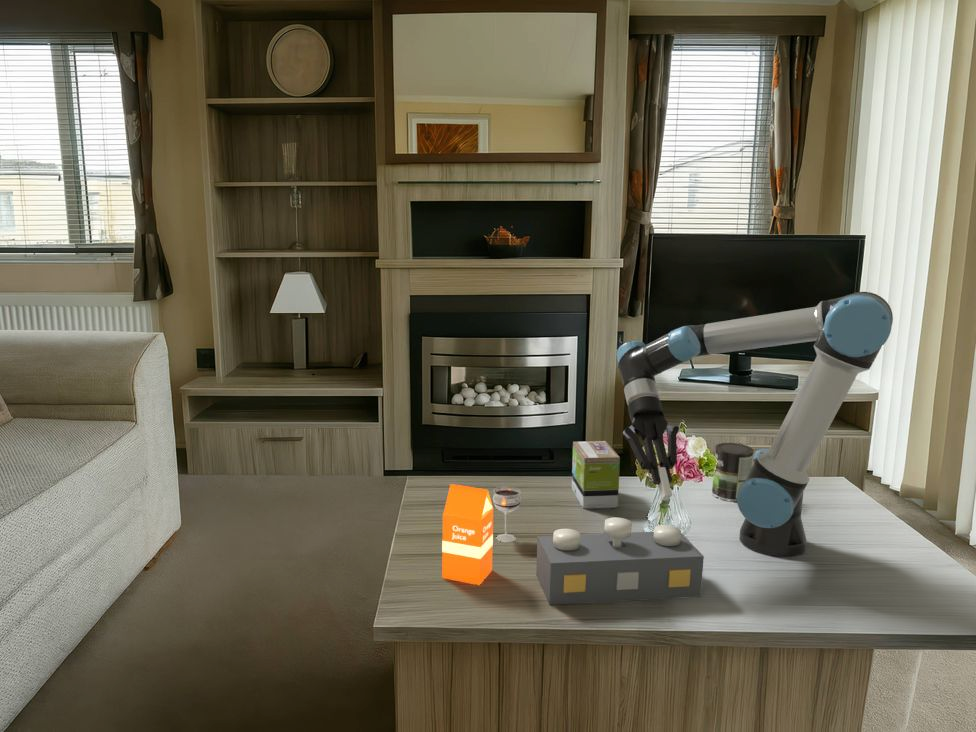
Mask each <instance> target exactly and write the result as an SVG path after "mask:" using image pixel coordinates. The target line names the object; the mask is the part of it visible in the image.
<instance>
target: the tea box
mask: <svg viewBox="0 0 976 732" xmlns="http://www.w3.org/2000/svg"><path fill="white" fill-rule="evenodd" d="M571 460H572V462H571V463H572V466H571V467H572V468H571V490H572V492H573V493H574V495H575V497H576V498H577V500H578V502H579V504H580V506H581V507H582V508H583V510H584V509H585V510H586V509H587V510H589V509H613V508H618V505H619V487H620V486H619V485H620V484H619V483H620V466H621V463H620V462H621V457H620V456H619V455H618V453H617V452H616V451H615V450H614V449H613V448H612V446H611V445H610V444H609V443H608V442H607V440H591V441H590V440H589V441H588V440H587V441H573V442H572V459H571Z"/></svg>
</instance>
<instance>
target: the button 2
mask: <svg viewBox="0 0 976 732" xmlns="http://www.w3.org/2000/svg"><path fill="white" fill-rule="evenodd" d="M653 532H654V541H655V542H656V543H658V544H660V545H664V546H677V545H679V544H680V542H681V533H682V530H681V529H680V528H679V527H676V526H674V525H669V524H659V525H657V526H655V527H654V530H653Z"/></svg>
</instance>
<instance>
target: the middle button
mask: <svg viewBox="0 0 976 732" xmlns="http://www.w3.org/2000/svg"><path fill="white" fill-rule="evenodd" d="M632 524H633V523H632V521H631V520H629V519H628V518H627V519H626V518H623V517H618V516H617V517H610V518H606V519H605V520H604V527H603V528H604V529H603V530H604V531H603V534H605V535H607V536H608V537H611V538H613V547H621V543H622V539H625V538H629V537H630V536H631V533H632V529H633V528H632V526H633V525H632Z"/></svg>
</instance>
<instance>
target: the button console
mask: <svg viewBox="0 0 976 732" xmlns="http://www.w3.org/2000/svg"><path fill="white" fill-rule="evenodd" d="M536 542H537V543H536V573H535V575H536V577H537V580H538V582H539V585H540V587H541V589H542V591H543V594H544V596H545V599H546V601H547V604H548V605H549V606H552V605H556V606H557V605H572V604H574V605H575V604H589V603H590V604H591V603H593V604H594V603H611V602H612V603H613V602H625V601H626V602H627V601H647V600H650V601H651V600H665V599H683V598H684V599H685V598H701V594H702V581H703V572H704V571H703V570H704V569H703V568H704V560H705V559H704V558H705V557H704V555H703V554H702V553H701V552H700V550H698V549H697V547H695V545H694V544H693V543H692V542H691V541H690V540H689V539H688V538H687V537H686V536H685V535H684V534H683V533H682V532H681V542H680V544H679V545H677V546H664V545H660V544H658V543H656V542H655V541H654V531H641V532H640V531H639V532H635V531H634V532H633V531H631V536H630V537H629V538H625V539H622V543H621V547H613V538H611V537H608V536H607V535H605V533H587V534H586V533H583V534H580V547H579V548H578V549H576V550H571V551H566V550H560V549H557V548H555V547H554V546H553V535H539V536H537V541H536Z"/></svg>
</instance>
